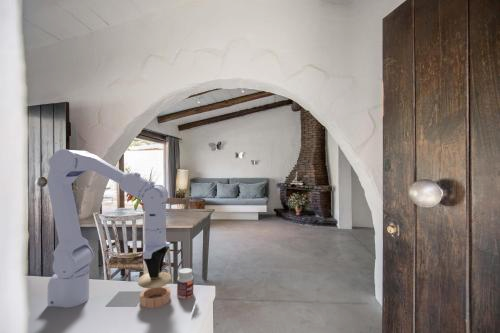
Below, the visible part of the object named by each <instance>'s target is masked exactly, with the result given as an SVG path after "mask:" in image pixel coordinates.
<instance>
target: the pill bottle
mask: <svg viewBox="0 0 500 333" xmlns="http://www.w3.org/2000/svg"><path fill="white" fill-rule="evenodd" d="M194 280H195V279H194V276H193V269H192V268H190V267H185V268H181V269H179V270H178V277H177V280H176V281H177V282H176V283H177V284H176V285H177V287H176V298H178V299H180V300H187V299H190V298H192V297H193V296H194Z"/></svg>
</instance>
